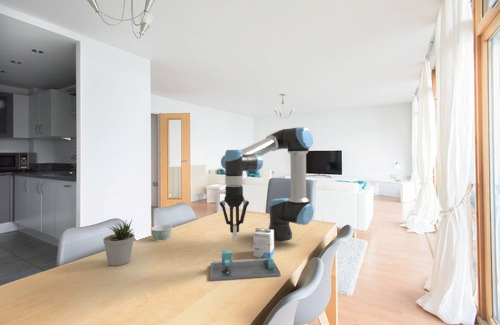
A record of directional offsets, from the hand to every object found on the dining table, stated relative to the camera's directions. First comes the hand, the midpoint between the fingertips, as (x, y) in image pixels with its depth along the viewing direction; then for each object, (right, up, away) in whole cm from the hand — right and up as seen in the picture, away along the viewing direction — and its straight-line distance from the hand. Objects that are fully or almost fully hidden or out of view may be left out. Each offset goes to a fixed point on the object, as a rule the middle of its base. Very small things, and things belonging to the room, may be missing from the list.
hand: (234, 239), depth 108 cm
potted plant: (-53, -12, +5) cm, 54 cm away
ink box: (+14, -12, +15) cm, 24 cm away
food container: (-46, -12, +39) cm, 61 cm away
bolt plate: (+4, -12, -3) cm, 13 cm away
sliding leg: (-3, -11, -3) cm, 12 cm away
